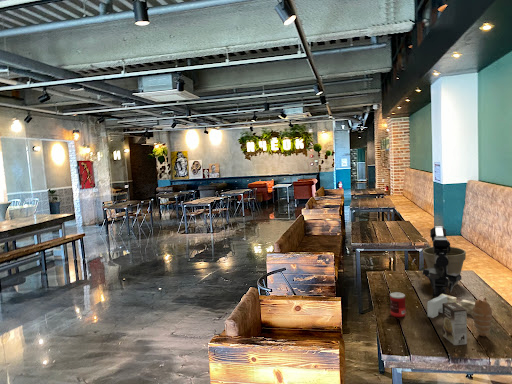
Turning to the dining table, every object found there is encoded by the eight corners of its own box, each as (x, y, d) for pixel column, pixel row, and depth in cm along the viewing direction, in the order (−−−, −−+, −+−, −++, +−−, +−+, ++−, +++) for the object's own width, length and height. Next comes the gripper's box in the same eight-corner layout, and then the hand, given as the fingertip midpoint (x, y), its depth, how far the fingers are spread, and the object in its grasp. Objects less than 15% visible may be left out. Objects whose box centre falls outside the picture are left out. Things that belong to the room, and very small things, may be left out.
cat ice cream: (486, 341, 173) (485, 302, 171) (468, 335, 180) (468, 298, 178) (496, 336, 178) (496, 298, 176) (479, 330, 184) (478, 293, 183)
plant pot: (419, 286, 248) (418, 253, 246) (427, 275, 268) (426, 244, 267) (463, 292, 234) (463, 256, 232) (468, 280, 254) (468, 247, 252)
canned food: (405, 312, 210) (404, 292, 209) (406, 318, 203) (405, 297, 202) (390, 311, 213) (389, 291, 212) (390, 317, 205) (389, 296, 204)
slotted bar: (433, 318, 201) (432, 303, 200) (427, 316, 203) (427, 301, 202) (447, 310, 209) (447, 296, 208) (442, 309, 211) (442, 294, 210)
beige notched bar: (438, 306, 215) (438, 295, 215) (444, 303, 218) (443, 293, 218) (475, 317, 199) (475, 305, 198) (481, 314, 202) (481, 302, 201)
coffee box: (442, 336, 181) (441, 302, 179) (455, 335, 181) (454, 301, 180) (453, 345, 171) (453, 310, 170) (467, 344, 172) (467, 309, 171)
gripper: (416, 261, 209) (417, 289, 210) (450, 268, 194) (450, 298, 195) (428, 257, 215) (428, 284, 216) (461, 263, 200) (462, 293, 201)
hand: (441, 290), depth 207 cm, fingers open, 9 cm apart
